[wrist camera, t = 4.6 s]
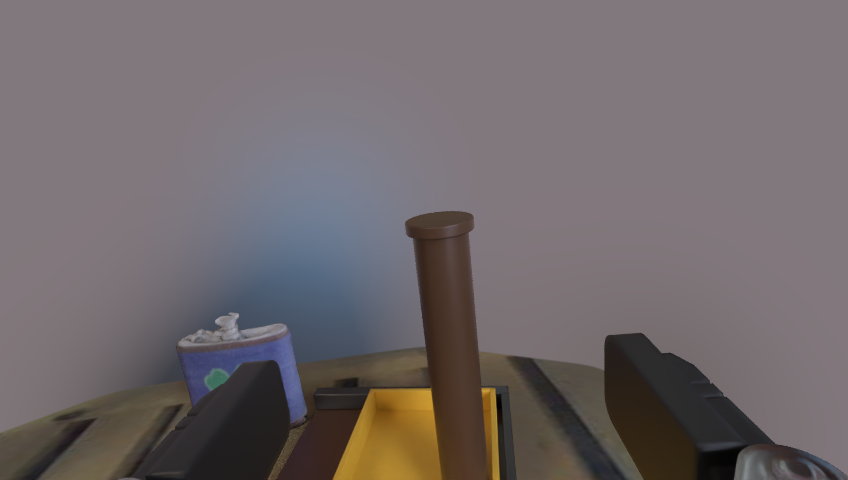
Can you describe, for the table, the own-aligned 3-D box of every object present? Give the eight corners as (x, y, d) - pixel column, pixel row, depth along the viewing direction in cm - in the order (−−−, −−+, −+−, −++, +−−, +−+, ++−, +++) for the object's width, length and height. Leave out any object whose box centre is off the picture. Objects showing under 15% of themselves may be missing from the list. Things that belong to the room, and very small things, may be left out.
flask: (310, 409, 38) (287, 300, 35) (303, 431, 35) (277, 316, 32) (208, 422, 37) (176, 315, 35) (193, 447, 35) (156, 331, 32)
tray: (283, 658, 19) (179, 291, 14) (374, 413, 34) (339, 201, 30) (509, 681, 17) (477, 276, 12) (497, 413, 33) (480, 188, 28)
